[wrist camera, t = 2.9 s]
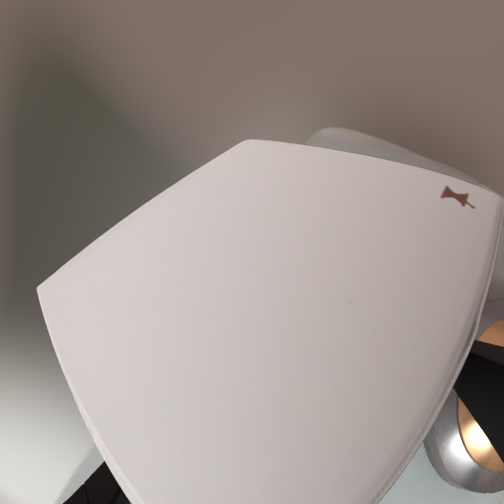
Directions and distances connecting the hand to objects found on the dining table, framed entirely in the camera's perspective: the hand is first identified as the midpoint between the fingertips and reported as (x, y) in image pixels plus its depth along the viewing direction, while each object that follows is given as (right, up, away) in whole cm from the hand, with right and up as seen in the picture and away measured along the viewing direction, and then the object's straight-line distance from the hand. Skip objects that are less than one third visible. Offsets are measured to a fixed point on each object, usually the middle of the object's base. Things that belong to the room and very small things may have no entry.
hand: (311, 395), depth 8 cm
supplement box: (+1, -5, +5) cm, 7 cm away
